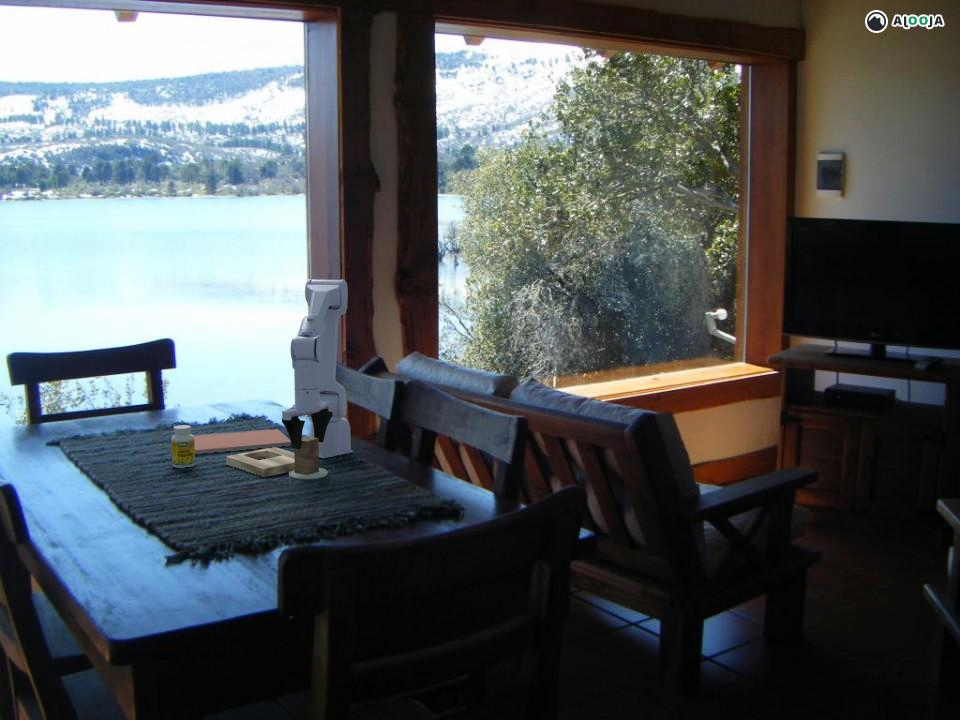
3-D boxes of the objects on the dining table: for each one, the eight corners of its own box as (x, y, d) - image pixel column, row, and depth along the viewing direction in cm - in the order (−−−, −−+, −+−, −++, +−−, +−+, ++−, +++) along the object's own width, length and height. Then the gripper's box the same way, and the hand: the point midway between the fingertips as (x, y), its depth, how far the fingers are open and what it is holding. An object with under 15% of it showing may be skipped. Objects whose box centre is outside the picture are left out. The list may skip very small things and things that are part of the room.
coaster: (312, 467, 252) (312, 465, 252) (335, 474, 246) (335, 472, 246) (281, 474, 246) (281, 472, 246) (304, 481, 239) (304, 479, 239)
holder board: (275, 454, 264) (274, 447, 263) (313, 466, 253) (312, 458, 252) (226, 464, 254) (226, 456, 254) (263, 477, 243) (263, 468, 242)
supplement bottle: (191, 461, 256) (190, 423, 255) (198, 466, 252) (197, 427, 250) (169, 464, 253) (168, 425, 252) (176, 469, 249) (174, 430, 247)
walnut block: (306, 468, 249) (306, 436, 247) (319, 471, 246) (318, 438, 245) (294, 472, 245) (294, 439, 244) (307, 475, 243) (306, 441, 242)
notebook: (277, 434, 288) (277, 427, 288) (292, 448, 273) (291, 440, 273) (175, 443, 277) (175, 435, 277) (184, 457, 262) (184, 449, 262)
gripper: (315, 381, 251) (316, 436, 253) (272, 390, 239) (273, 448, 241) (337, 384, 247) (338, 440, 249) (294, 394, 235) (295, 453, 237)
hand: (308, 444), depth 245 cm, fingers open, 7 cm apart
